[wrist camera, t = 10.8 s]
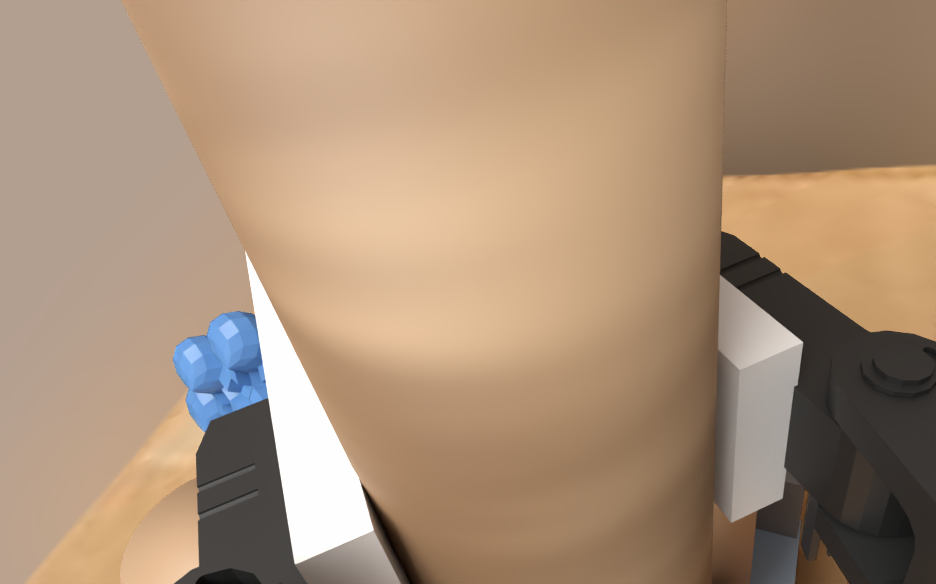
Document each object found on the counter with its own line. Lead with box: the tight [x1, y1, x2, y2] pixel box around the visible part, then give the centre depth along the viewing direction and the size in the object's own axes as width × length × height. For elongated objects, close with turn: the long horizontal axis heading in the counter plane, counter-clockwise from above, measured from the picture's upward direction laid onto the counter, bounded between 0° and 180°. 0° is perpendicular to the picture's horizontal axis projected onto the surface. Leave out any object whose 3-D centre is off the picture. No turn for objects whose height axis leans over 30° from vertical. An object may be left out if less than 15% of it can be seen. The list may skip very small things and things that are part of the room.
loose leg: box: [121, 0, 727, 584], centre depth 9 cm, size 4×4×16 cm
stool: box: [120, 470, 805, 584], centre depth 22 cm, size 17×17×15 cm
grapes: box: [173, 311, 268, 432], centre depth 32 cm, size 12×7×12 cm, turn 81°
